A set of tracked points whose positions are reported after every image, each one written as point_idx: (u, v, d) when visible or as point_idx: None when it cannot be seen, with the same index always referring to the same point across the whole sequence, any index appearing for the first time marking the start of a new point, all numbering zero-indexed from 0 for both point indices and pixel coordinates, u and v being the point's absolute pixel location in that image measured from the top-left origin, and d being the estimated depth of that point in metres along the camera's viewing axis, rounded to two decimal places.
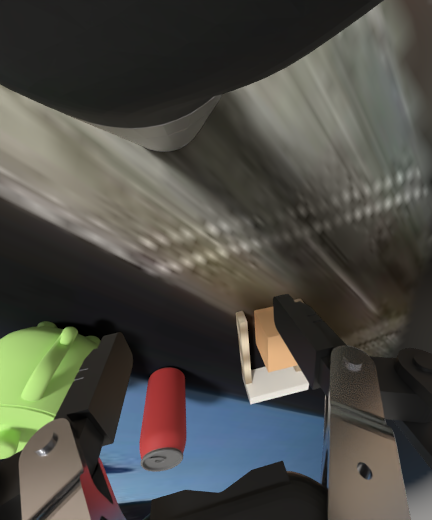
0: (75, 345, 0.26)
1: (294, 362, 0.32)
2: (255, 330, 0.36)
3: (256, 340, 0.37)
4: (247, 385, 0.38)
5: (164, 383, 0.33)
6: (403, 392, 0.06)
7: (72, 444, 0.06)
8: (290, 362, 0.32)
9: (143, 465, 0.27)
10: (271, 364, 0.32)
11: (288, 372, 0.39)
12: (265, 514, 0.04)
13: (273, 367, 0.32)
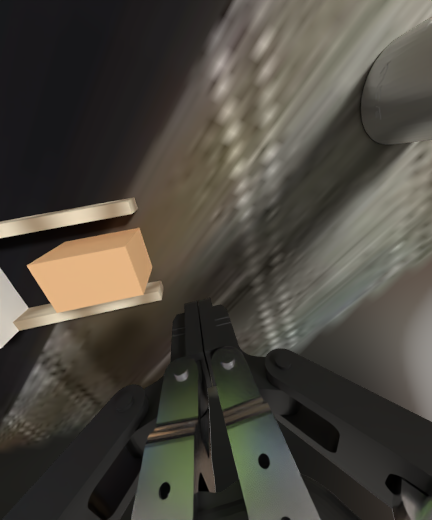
0: None
1: (64, 306, 0.18)
2: (97, 236, 0.22)
3: (74, 241, 0.21)
4: None
5: None
6: (263, 388, 0.07)
7: (195, 389, 0.06)
8: (63, 299, 0.18)
9: None
10: (52, 266, 0.17)
11: (7, 310, 0.22)
12: None
13: (44, 272, 0.17)
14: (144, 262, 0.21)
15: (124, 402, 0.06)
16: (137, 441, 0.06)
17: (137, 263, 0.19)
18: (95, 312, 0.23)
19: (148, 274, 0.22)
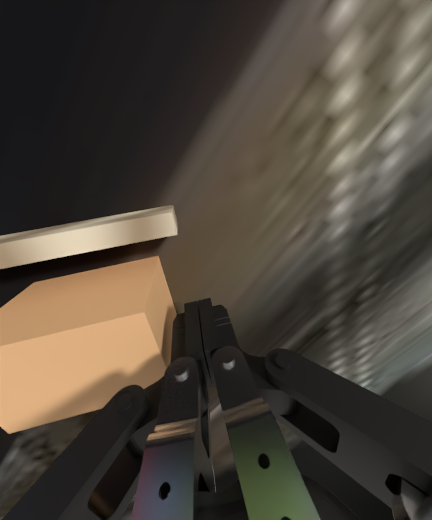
0: None
1: (22, 421, 0.09)
2: (87, 272, 0.13)
3: (48, 282, 0.12)
4: None
5: None
6: (263, 388, 0.07)
7: (195, 389, 0.06)
8: (19, 411, 0.09)
9: None
10: None
11: None
12: None
13: None
14: (168, 317, 0.13)
15: (124, 402, 0.06)
16: (137, 441, 0.06)
17: (162, 329, 0.10)
18: None
19: None
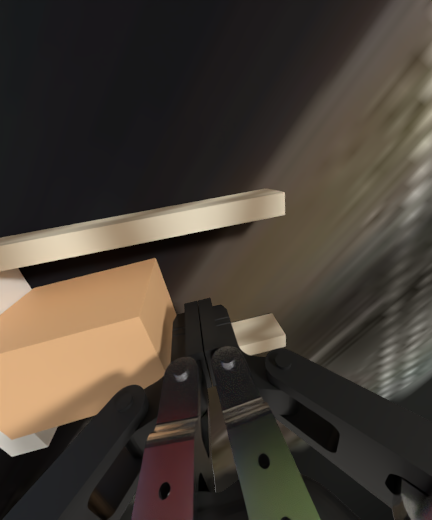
0: None
1: (24, 427, 0.09)
2: (85, 276, 0.13)
3: (47, 288, 0.12)
4: None
5: None
6: (263, 388, 0.07)
7: (195, 389, 0.06)
8: (20, 418, 0.09)
9: None
10: None
11: None
12: None
13: None
14: (167, 319, 0.12)
15: (124, 402, 0.06)
16: (137, 441, 0.06)
17: (160, 332, 0.10)
18: None
19: None
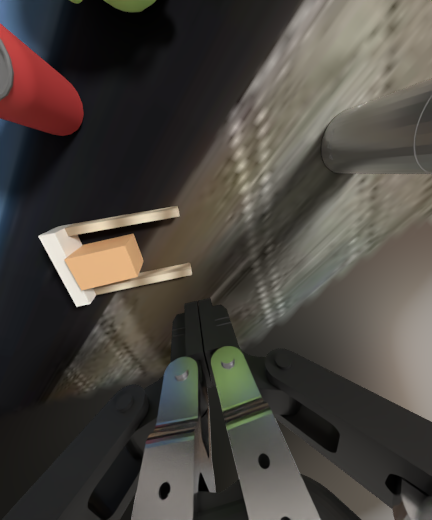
0: None
1: (86, 285, 0.28)
2: (104, 240, 0.32)
3: (89, 244, 0.32)
4: (64, 230, 0.28)
5: (72, 98, 0.22)
6: (263, 388, 0.07)
7: (195, 389, 0.06)
8: (86, 281, 0.28)
9: None
10: (79, 259, 0.27)
11: None
12: None
13: (74, 263, 0.27)
14: (137, 256, 0.32)
15: (124, 402, 0.06)
16: (137, 441, 0.06)
17: (133, 256, 0.30)
18: (147, 282, 0.34)
19: (140, 265, 0.32)
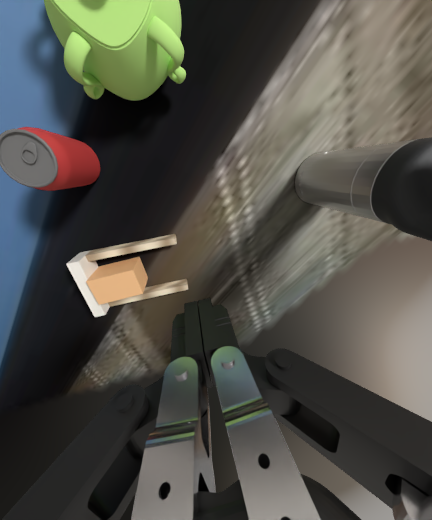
0: (165, 76, 0.26)
1: (102, 301, 0.36)
2: (116, 262, 0.39)
3: (104, 266, 0.39)
4: (85, 257, 0.35)
5: (92, 162, 0.29)
6: (263, 388, 0.07)
7: (195, 389, 0.06)
8: (102, 297, 0.35)
9: (14, 132, 0.20)
10: (97, 281, 0.34)
11: None
12: None
13: (93, 284, 0.34)
14: (142, 276, 0.39)
15: (124, 402, 0.06)
16: (137, 441, 0.06)
17: (139, 277, 0.37)
18: (151, 296, 0.41)
19: (145, 282, 0.39)
